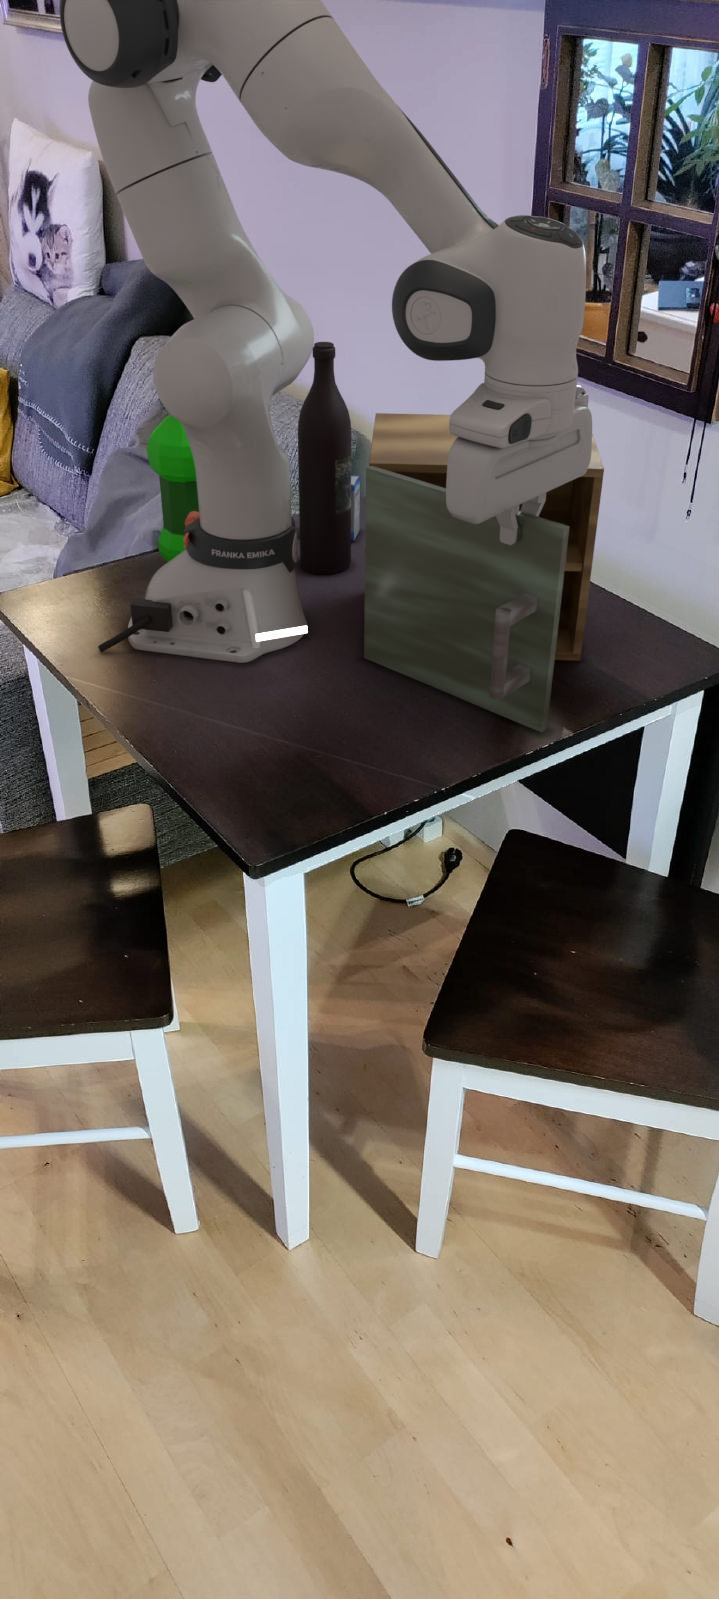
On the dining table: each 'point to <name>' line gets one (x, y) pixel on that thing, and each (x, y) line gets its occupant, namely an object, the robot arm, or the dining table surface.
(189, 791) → the dining table surface
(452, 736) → the dining table surface
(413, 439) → the cupboard
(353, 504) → the medicine box
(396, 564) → the door
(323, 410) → the wine bottle
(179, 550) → the plastic bottle
